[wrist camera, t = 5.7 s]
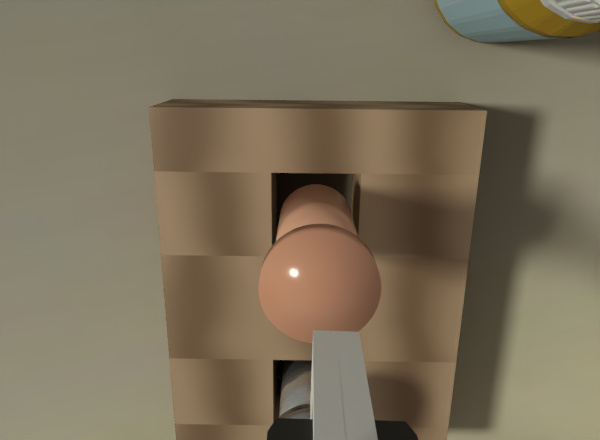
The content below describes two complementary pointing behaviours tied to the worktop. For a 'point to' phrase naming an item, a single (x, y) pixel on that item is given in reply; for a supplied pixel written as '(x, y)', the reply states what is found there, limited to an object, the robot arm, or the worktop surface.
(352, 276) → the terracotta plug
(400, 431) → the robot arm
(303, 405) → the grey plug
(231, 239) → the block
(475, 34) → the bottle
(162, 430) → the worktop surface
